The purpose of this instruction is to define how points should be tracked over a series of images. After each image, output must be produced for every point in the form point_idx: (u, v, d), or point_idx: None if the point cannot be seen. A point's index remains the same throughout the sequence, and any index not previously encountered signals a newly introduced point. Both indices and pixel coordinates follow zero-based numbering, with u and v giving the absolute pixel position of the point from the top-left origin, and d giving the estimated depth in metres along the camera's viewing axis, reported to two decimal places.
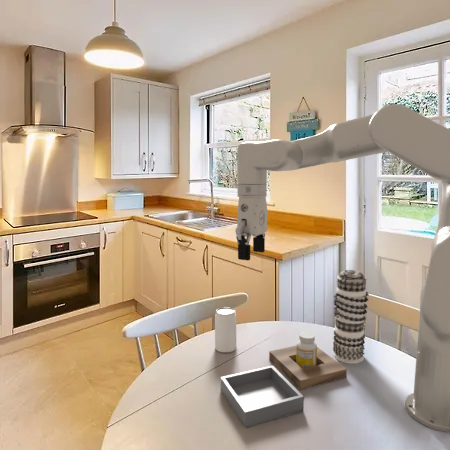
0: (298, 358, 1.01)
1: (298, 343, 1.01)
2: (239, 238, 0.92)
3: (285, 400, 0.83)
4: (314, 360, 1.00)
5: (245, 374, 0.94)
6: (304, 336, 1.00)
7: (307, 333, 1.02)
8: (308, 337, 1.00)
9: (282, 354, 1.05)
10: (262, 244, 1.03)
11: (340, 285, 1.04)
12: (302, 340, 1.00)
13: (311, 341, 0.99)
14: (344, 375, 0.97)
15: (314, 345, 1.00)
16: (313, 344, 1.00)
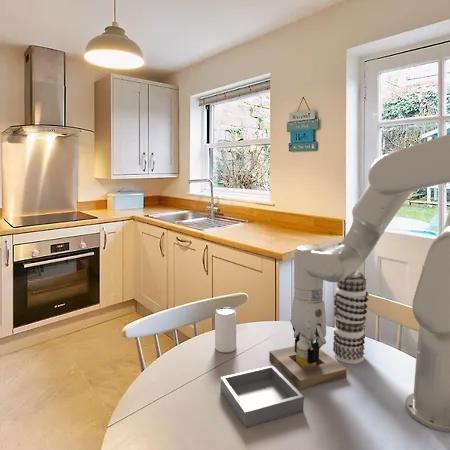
0: (298, 358, 1.01)
1: (298, 343, 1.01)
2: (319, 346, 0.96)
3: (285, 400, 0.83)
4: None
5: (245, 374, 0.94)
6: (304, 336, 1.00)
7: None
8: None
9: (282, 354, 1.05)
10: None
11: (340, 285, 1.04)
12: (302, 340, 1.00)
13: None
14: (344, 375, 0.97)
15: None
16: None
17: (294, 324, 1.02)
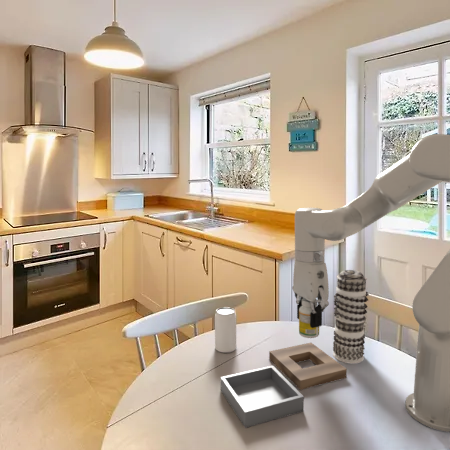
0: (301, 323, 0.99)
1: (300, 308, 0.99)
2: (322, 308, 0.94)
3: (285, 400, 0.83)
4: None
5: (245, 374, 0.94)
6: (306, 300, 0.98)
7: None
8: None
9: (282, 354, 1.05)
10: None
11: (340, 285, 1.04)
12: (304, 304, 0.98)
13: None
14: (344, 375, 0.97)
15: None
16: None
17: (296, 289, 1.01)
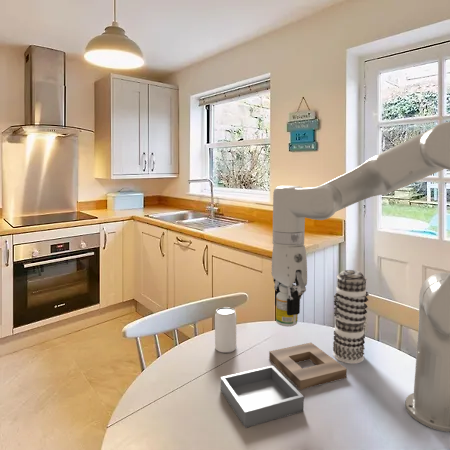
0: (277, 310, 0.92)
1: (278, 294, 0.92)
2: (299, 294, 0.87)
3: (285, 400, 0.83)
4: None
5: (245, 374, 0.94)
6: (284, 286, 0.91)
7: None
8: None
9: (282, 354, 1.05)
10: None
11: (340, 285, 1.04)
12: (282, 290, 0.91)
13: None
14: (344, 375, 0.97)
15: None
16: None
17: (274, 274, 0.94)
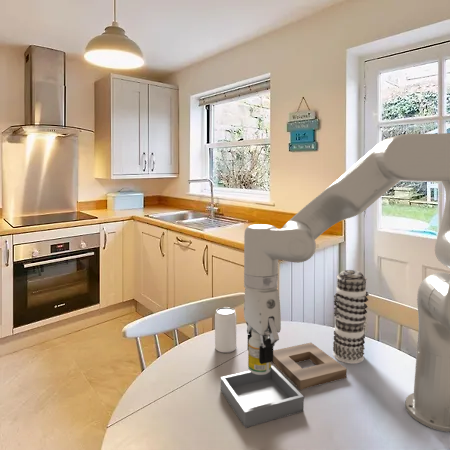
0: (249, 357, 0.86)
1: (250, 339, 0.86)
2: (272, 343, 0.81)
3: (285, 400, 0.83)
4: None
5: (245, 374, 0.94)
6: (256, 331, 0.85)
7: None
8: None
9: (282, 354, 1.05)
10: None
11: (340, 285, 1.04)
12: (254, 336, 0.85)
13: None
14: (344, 375, 0.97)
15: None
16: None
17: (246, 317, 0.87)
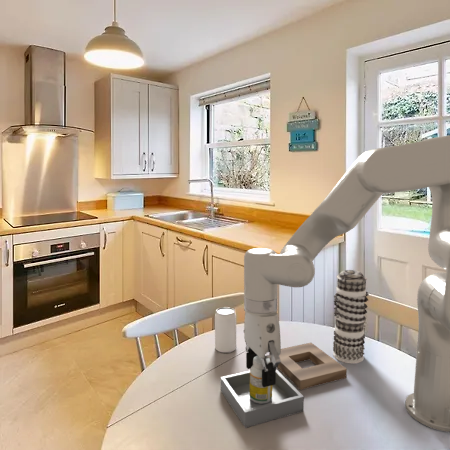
0: (251, 386, 0.87)
1: (251, 368, 0.87)
2: (275, 366, 0.80)
3: (285, 400, 0.83)
4: (269, 389, 0.86)
5: (245, 374, 0.94)
6: (258, 361, 0.86)
7: None
8: None
9: (282, 354, 1.05)
10: None
11: (340, 285, 1.04)
12: (255, 365, 0.86)
13: None
14: (344, 375, 0.97)
15: None
16: None
17: (246, 340, 0.88)
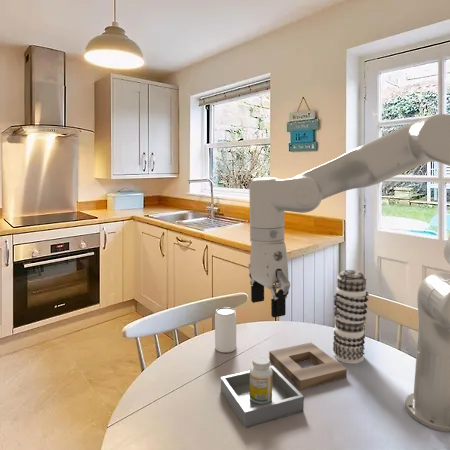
0: (251, 387, 0.87)
1: (251, 369, 0.87)
2: (285, 293, 0.78)
3: (285, 400, 0.83)
4: (269, 389, 0.86)
5: (245, 374, 0.94)
6: (257, 361, 0.86)
7: (262, 357, 0.88)
8: (262, 363, 0.86)
9: (282, 354, 1.05)
10: (263, 292, 0.90)
11: (340, 285, 1.04)
12: (255, 366, 0.86)
13: (265, 367, 0.85)
14: (344, 375, 0.97)
15: (268, 372, 0.86)
16: (268, 370, 0.86)
17: (253, 274, 0.86)
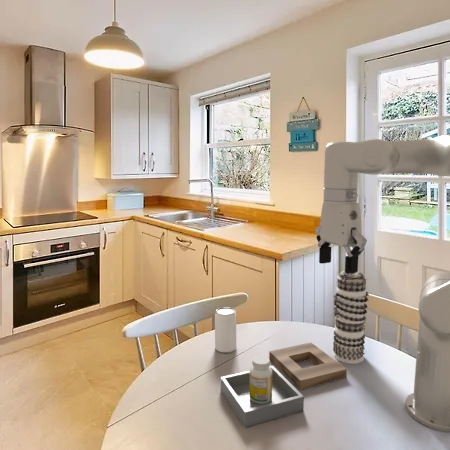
0: (251, 387, 0.87)
1: (251, 369, 0.87)
2: (360, 249, 0.82)
3: (285, 400, 0.83)
4: (269, 389, 0.86)
5: (245, 374, 0.94)
6: (257, 361, 0.86)
7: (262, 357, 0.88)
8: (262, 362, 0.86)
9: (282, 354, 1.05)
10: (330, 253, 0.94)
11: (340, 285, 1.04)
12: (255, 366, 0.86)
13: (265, 367, 0.86)
14: (344, 375, 0.97)
15: (268, 371, 0.86)
16: (268, 370, 0.86)
17: (323, 235, 0.91)
